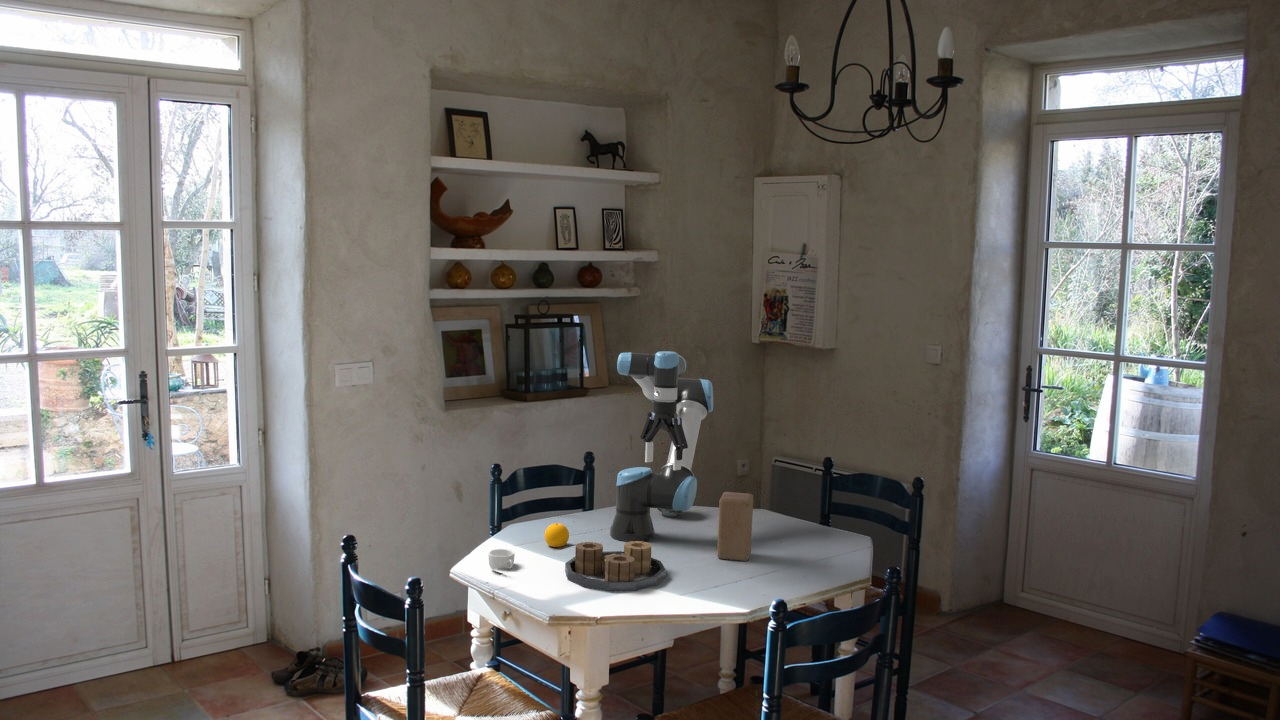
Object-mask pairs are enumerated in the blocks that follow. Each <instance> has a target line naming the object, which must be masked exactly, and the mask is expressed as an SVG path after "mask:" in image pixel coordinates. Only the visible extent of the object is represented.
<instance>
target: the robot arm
mask: <svg viewBox="0 0 1280 720" xmlns="http://www.w3.org/2000/svg"><path fill="white" fill-rule="evenodd" d="M616 366H617V368H616V369H617V373H618V374H619V375H621V376H622V375H623V376H630V377H631V378H632V379H633V380H634V382H636V383H637V384H638V385H639V386H640V388H641V390H642V391H641V392H642V393H643V395H644V397H646V399H648V401H650V402H652V404H653V405H652V412H648V413H647V419H646V421H645V424H644V426H643V428H642V432H641V434H640V439H641V440H643V441H644V452H645V453H644V456H645V457H644V462H645V463H652V462H654V438H655V436H656V435H657V434H658V432H659V431H660V430H661V429H662V431H663V430H664V431H665V432H666V433H668V435H669V438H670V439H671V443H670V449H669V453H668V457H667V462H666V464H665V465H663V466H662V467H661V468H660V471H659V473H653V470H652V468H650V467H646V466H645V467H644V466H637V467H629V468H625V469H623V470H620V471H619V472H618V473H617V476H616V477H617V478H616V484H615V485H616V492H615V493H616V495H615V496H616V497H615V498H616V502H615V503H616V504H615V515H614V518H613V520H612V524H611V526H610V528H609V531H610V532H609V535H610V537H611V538H613V539H615V540H618V541H622V542H623V541H624V542H631V541H634V542H635V541H643V542H647V541H649V540H652V539H654V538H655V528H654V525H653V523H654V522H653V519H652V516H651V509H657V508H659V509H669V510H674V511H678V510H681V511H682V512H686V511H688V510H690V509H691V508H692V507H693V505H694V502H695V499H696V495H697V490H698V481H697V480H698V479H697V478H696V477H695V473H694V472H693V471H692V467H693V461H694V456H695V451H696V446H697V442H698V439H699V438H698V437H699V432H700V428H701V424H702V420H705V418H706V417H707V415H708V413H711V412H713V409H714V388H713V384H712V382H711V381H710V380H709V379H702V378H688V377H686V378H685V377H681V376H682V375H683V374H684V373H685V372H686V370H687V361H686V359H685V358H684V357H683V356H682V355H680V354H679V353H678V352H676V351H669V350H667V351H666V350H665V351H663V350H661V351H657V352H656V353H640V352H638V353H637V352H631V351H630V352H621V353H619V355H618V357H617V362H616ZM675 414H677V418H676V417H675Z"/></svg>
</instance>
